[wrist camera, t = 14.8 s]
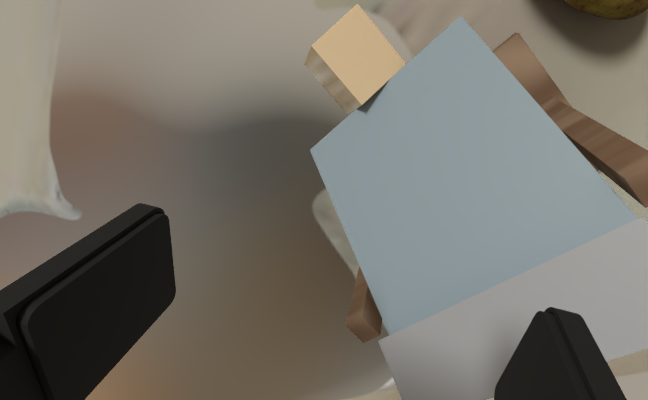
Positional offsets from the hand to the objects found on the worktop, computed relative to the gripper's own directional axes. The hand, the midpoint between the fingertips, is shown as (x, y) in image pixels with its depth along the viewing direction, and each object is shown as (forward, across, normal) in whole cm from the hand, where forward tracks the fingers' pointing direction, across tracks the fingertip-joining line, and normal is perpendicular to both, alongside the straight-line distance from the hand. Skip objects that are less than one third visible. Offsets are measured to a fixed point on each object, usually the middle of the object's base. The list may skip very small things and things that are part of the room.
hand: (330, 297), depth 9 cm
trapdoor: (+18, -6, +5) cm, 20 cm away
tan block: (+26, +2, -1) cm, 26 cm away
